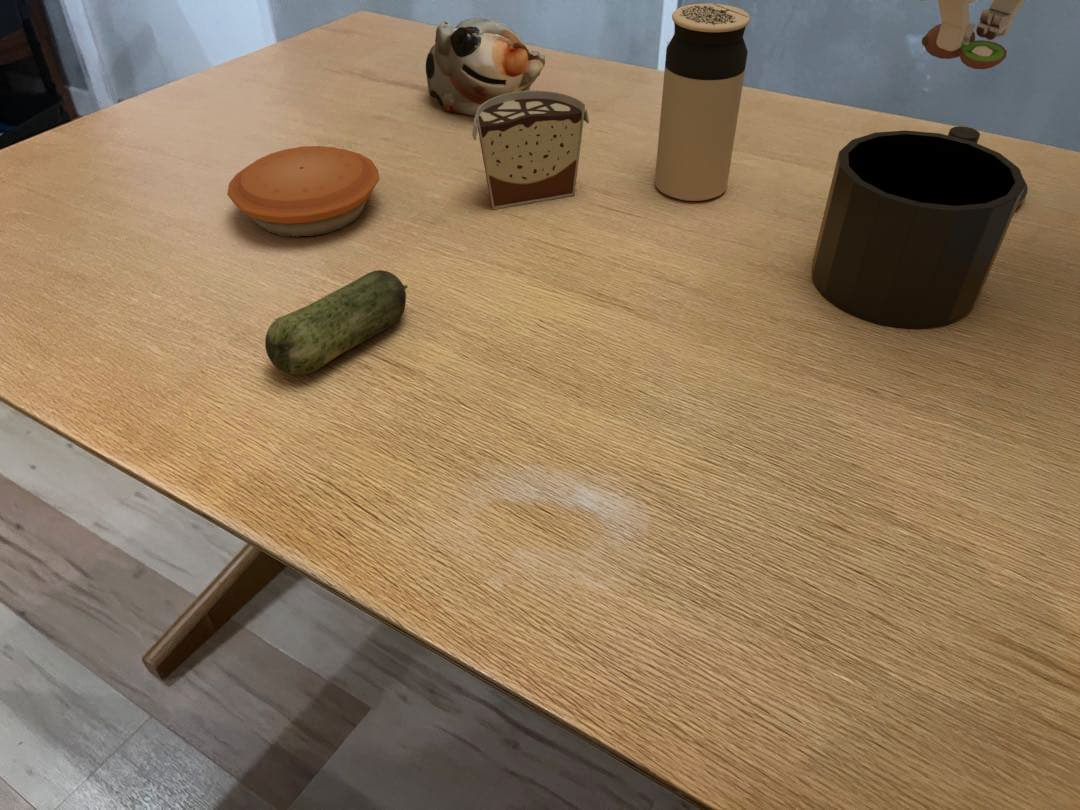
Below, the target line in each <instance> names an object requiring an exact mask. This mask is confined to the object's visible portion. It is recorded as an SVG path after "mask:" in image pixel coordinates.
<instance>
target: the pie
mask: <svg viewBox="0 0 1080 810" xmlns="http://www.w3.org/2000/svg"><path fill="white" fill-rule="evenodd" d="M379 181H380V173H379V169H378V168H377V166H376V165H375V163H374V161H373V160H372V159H370V158H369V157H367V156H365V155H363V154H361V153H359V152H355V151H351V150H349V149H345V148H340V147H334V146H326V145H325V146H323V145H309V146H308V145H306V146H297V147H292V148H291V147H290V148H285V149H283V150H282V149H281V150H278V151H275V152H272V153H268V154H267V155H264V156H262V157H260V158H258V159H256V160H255V161H253V162H252V163H250V164H249V165H247V166H245V167H244V168H243V169H241V170H240V171H239V172H237V173H236V174H235V175H234V177H232V179H231V180H230V181H229V183H228V187H227V196H228V197H229V199H230V200H231V202H232V203H233V204H234V205H235V207H237V208H238V209H239V210H240V211H242V212H243V213H245V214H246V215H247V216H248V217H249V218H250V219H251V220H252V221H254V222H255V223H256V224H257V225H258V226H259V227H261V228H262V227H263V228H262V229H264V230H265V229H266V230H265V231H267V232H268V231H270V232H269V233H271V232H273V233H272V234H274V233H276V234H275V235H277V234H279V235H278V236H280V235H285V236H284V237H289V236H293V237H292V238H300V237H299V236H311V237H314V236H313V235H316V236H320V235H319V234H322V235H326V234H325V233H327V234H329V233H333V232H335V231H338V230H341V229H343V228H344V227H346V226H348V225H350V224H352V223H354V221H355V220H356V219H357V218H359V216H360V215H361V213H362V212H363V209H364V207H365V205H366V203H367V201H368V199H369V197H370V196H371V194H372V192H373V190H374V189H375V187H376V186H377V184H378V182H379ZM351 222H352V223H351ZM349 223H350V224H349ZM342 227H343V228H342ZM340 228H341V229H340ZM337 229H338V230H337ZM334 230H335V231H334ZM286 235H287V236H286ZM295 236H296V237H295Z"/></svg>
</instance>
